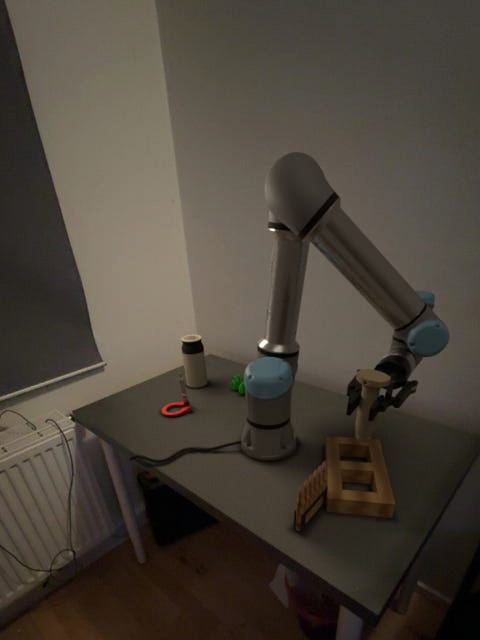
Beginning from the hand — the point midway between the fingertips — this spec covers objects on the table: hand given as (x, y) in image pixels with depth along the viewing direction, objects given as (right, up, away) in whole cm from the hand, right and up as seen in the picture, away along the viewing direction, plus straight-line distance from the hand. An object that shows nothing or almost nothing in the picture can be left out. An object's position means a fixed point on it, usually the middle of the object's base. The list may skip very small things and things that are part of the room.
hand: (359, 411), depth 67 cm
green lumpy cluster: (-19, +11, +61) cm, 65 cm away
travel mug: (-39, +13, +67) cm, 79 cm away
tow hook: (-44, +2, +50) cm, 67 cm away
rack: (+4, -15, +16) cm, 23 cm away
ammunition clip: (-8, -22, +7) cm, 25 cm away
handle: (+4, -6, +9) cm, 11 cm away
